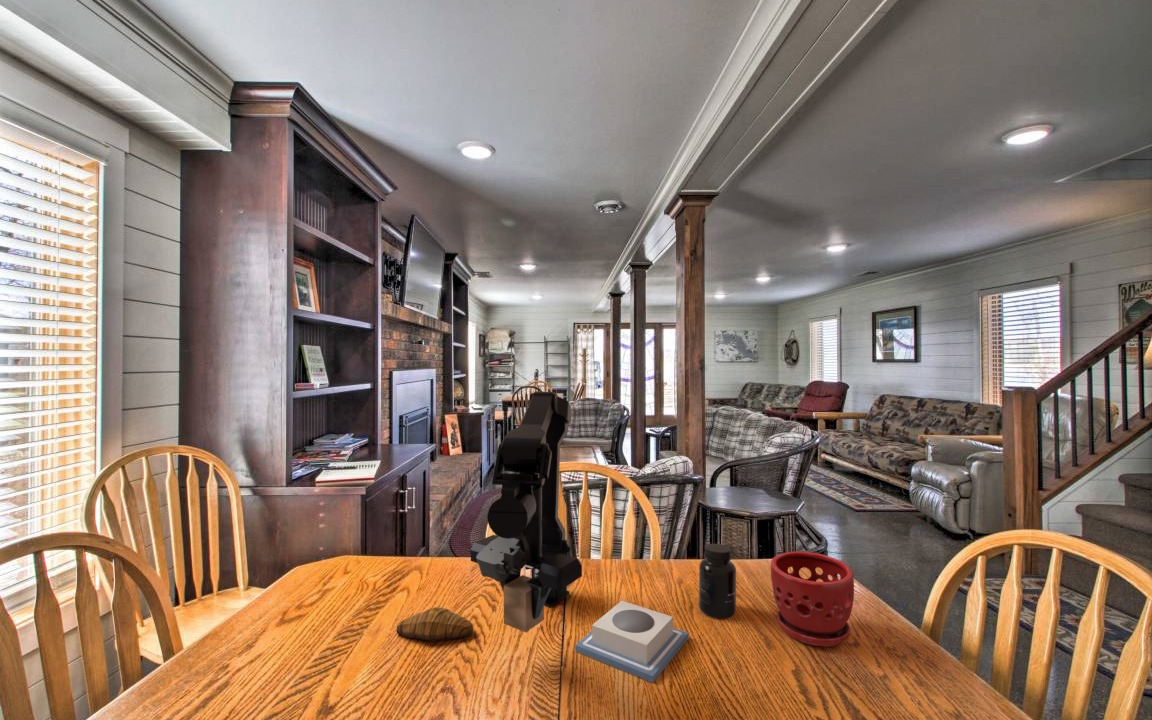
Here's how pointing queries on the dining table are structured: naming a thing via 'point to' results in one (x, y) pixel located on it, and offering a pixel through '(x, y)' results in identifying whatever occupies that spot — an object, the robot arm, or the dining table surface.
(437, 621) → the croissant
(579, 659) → the dining table surface
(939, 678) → the dining table surface
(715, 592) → the supplement bottle
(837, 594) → the plant pot
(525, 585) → the walnut block
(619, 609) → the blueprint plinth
